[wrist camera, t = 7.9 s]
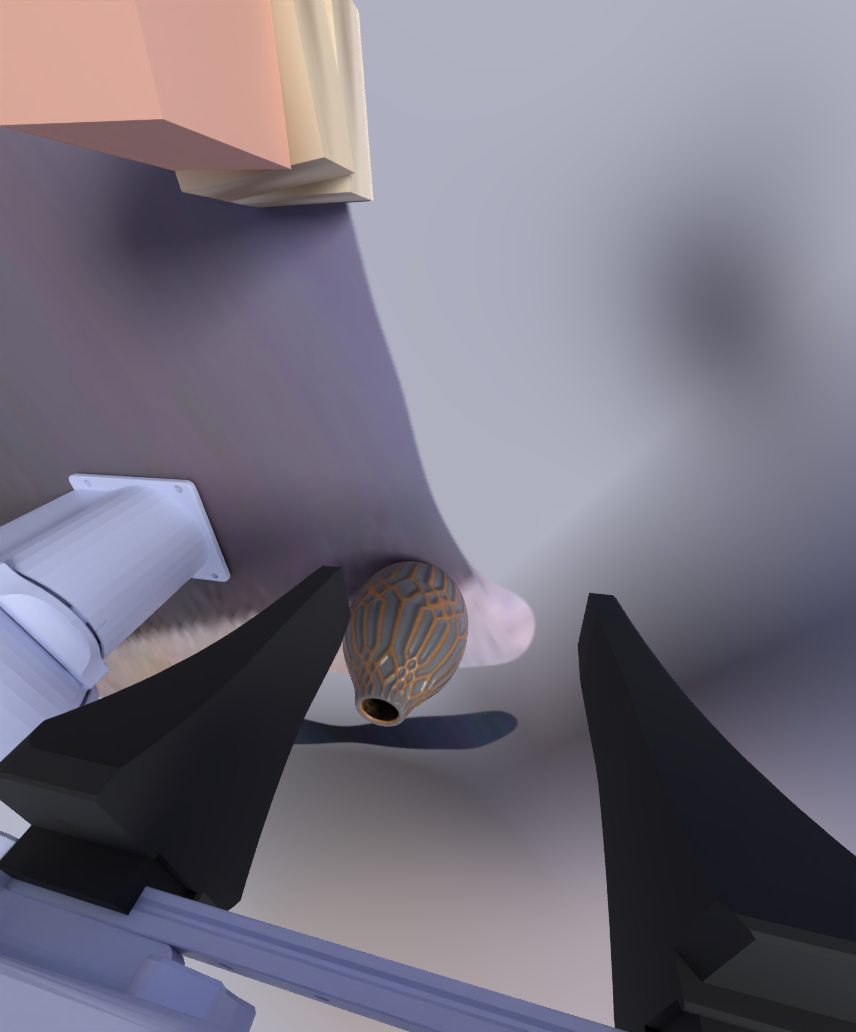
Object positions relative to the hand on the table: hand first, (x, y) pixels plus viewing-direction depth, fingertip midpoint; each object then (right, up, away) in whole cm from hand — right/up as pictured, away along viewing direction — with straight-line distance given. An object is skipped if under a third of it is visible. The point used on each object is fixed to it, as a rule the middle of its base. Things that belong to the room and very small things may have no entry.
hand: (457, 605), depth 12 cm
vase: (-1, -2, +14) cm, 14 cm away
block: (-7, +15, -1) cm, 16 cm away
